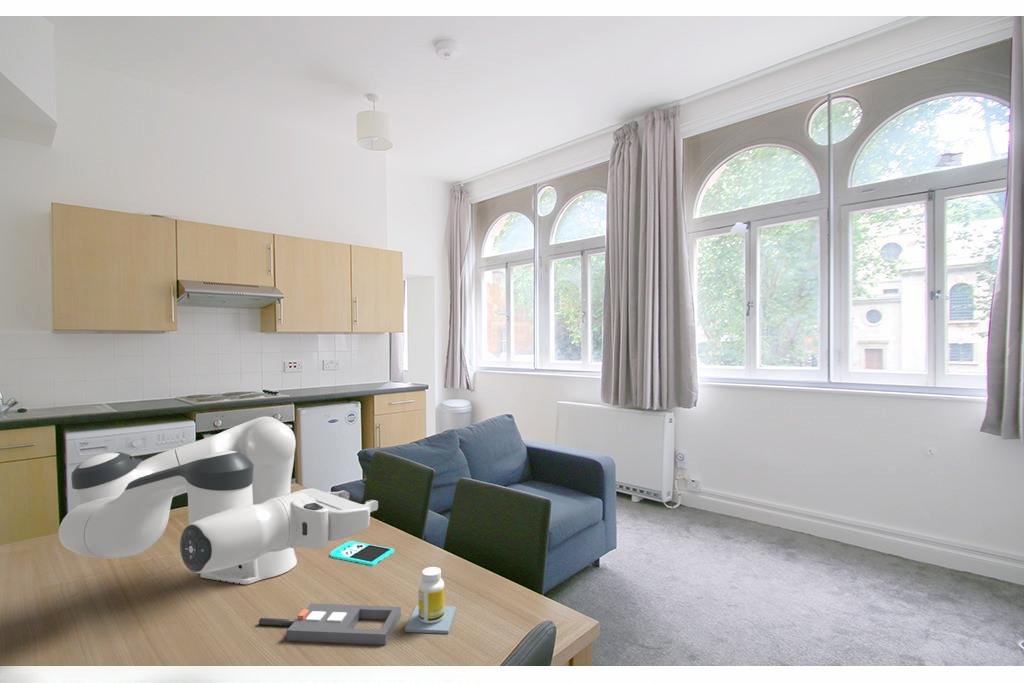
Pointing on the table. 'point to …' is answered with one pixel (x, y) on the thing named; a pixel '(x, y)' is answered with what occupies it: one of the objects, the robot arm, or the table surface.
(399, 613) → the power strip
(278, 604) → the table surface
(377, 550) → the handheld game console
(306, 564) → the table surface
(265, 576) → the robot arm
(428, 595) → the supplement bottle
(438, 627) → the rubber mat
